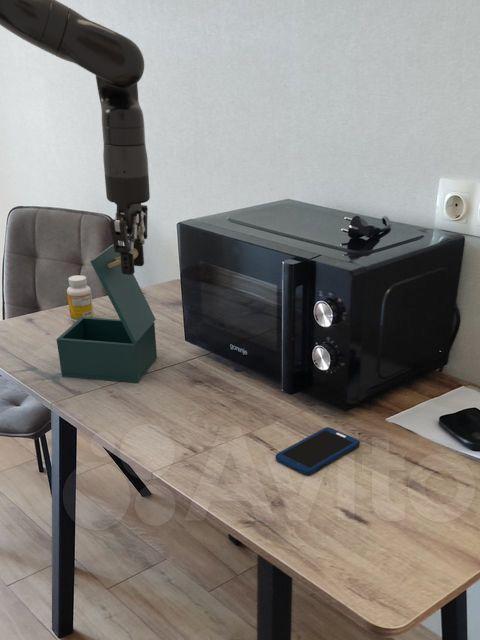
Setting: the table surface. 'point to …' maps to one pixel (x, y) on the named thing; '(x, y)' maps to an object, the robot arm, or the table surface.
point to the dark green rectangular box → (105, 351)
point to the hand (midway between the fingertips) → (133, 269)
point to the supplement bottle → (79, 298)
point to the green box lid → (123, 293)
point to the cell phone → (317, 450)
